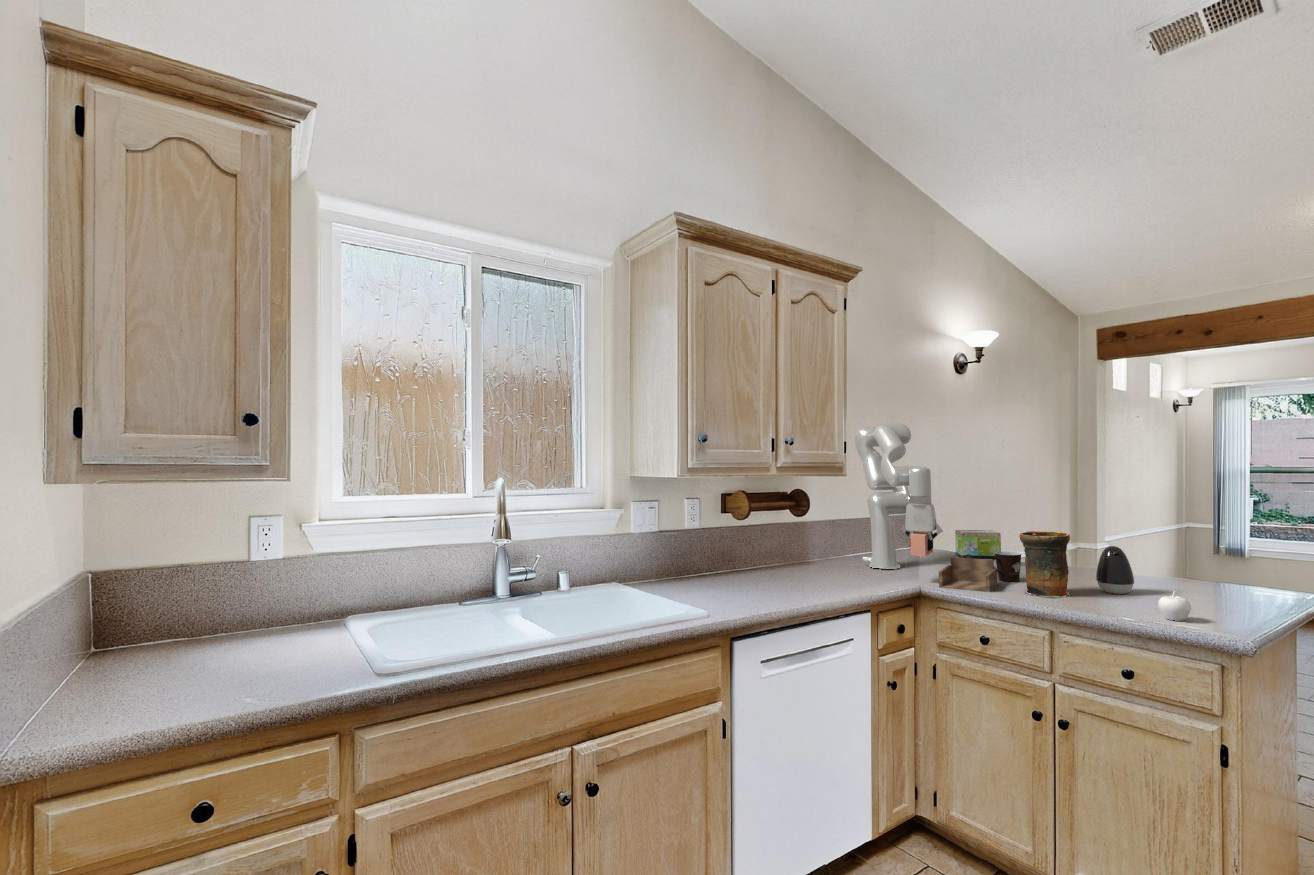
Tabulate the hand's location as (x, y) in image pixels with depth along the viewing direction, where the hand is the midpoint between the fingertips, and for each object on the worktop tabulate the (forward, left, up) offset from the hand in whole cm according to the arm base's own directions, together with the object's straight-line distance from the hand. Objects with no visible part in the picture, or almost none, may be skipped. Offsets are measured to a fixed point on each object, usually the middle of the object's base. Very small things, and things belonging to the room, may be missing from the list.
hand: (921, 549), depth 234 cm
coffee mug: (+24, +16, -12) cm, 31 cm away
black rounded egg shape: (+57, +11, -12) cm, 60 cm away
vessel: (+39, -1, -12) cm, 41 cm away
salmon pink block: (0, 0, -2) cm, 2 cm away
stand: (+15, 0, -12) cm, 19 cm away
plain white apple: (+71, -22, -12) cm, 76 cm away
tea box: (+10, +45, -12) cm, 47 cm away
